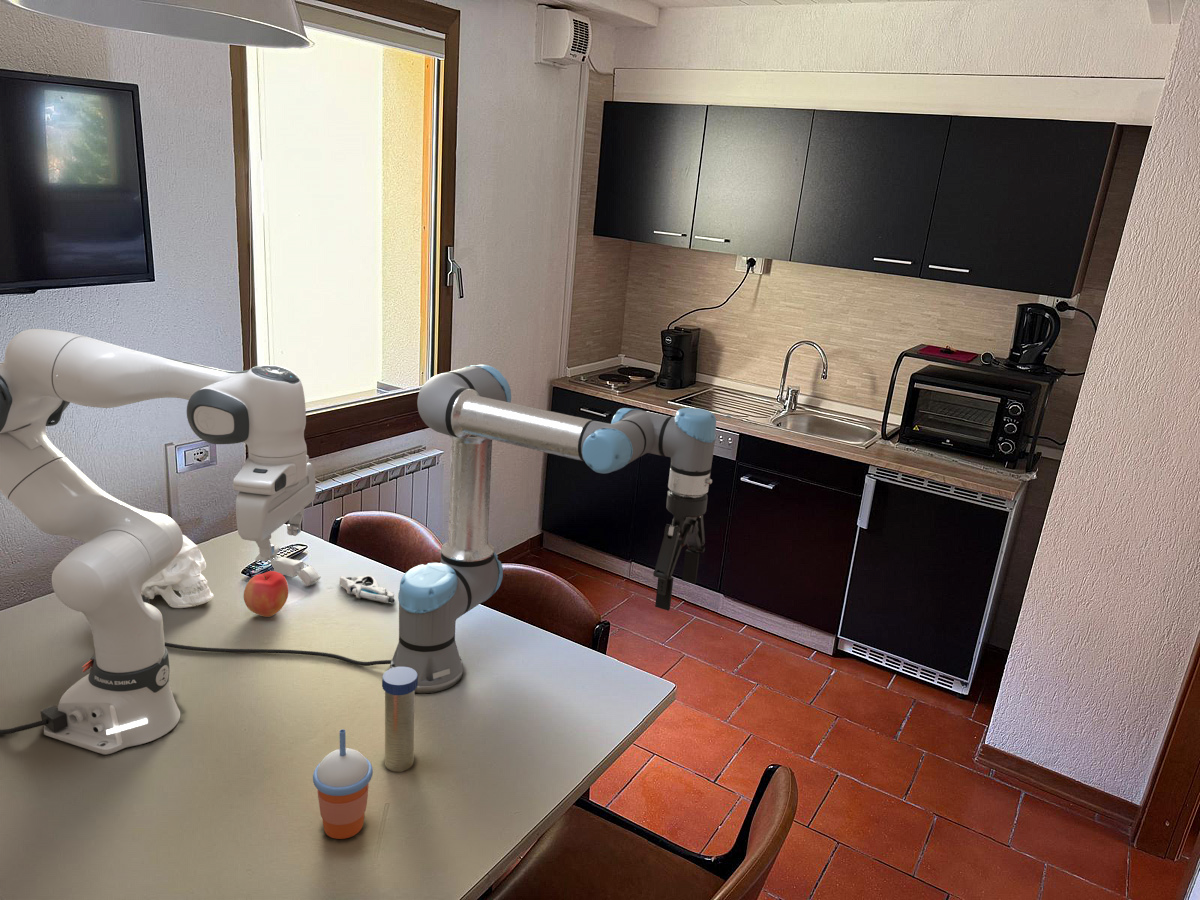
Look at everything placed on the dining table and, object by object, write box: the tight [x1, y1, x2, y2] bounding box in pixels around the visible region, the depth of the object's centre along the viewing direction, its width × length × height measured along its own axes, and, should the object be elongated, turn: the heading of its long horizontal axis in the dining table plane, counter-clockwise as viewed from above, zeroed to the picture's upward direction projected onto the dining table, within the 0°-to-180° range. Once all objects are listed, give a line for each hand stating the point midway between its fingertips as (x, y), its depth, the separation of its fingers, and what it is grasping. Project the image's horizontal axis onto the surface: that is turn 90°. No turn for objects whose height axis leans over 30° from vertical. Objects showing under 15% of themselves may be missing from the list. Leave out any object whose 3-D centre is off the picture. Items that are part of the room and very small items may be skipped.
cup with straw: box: [312, 728, 374, 840], centre depth 136 cm, size 9×9×18 cm
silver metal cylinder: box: [384, 690, 416, 773], centre depth 152 cm, size 5×5×18 cm
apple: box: [243, 570, 289, 618], centre depth 199 cm, size 10×10×10 cm
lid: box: [381, 667, 418, 695], centre depth 149 cm, size 6×6×2 cm
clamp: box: [254, 544, 322, 587], centre depth 219 cm, size 20×4×7 cm, turn 62°
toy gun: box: [338, 574, 395, 604], centre depth 214 cm, size 18×2×10 cm
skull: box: [141, 534, 214, 609], centre depth 203 cm, size 13×22×16 cm, turn 73°
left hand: (281, 544), depth 142 cm, fingers open, 8 cm apart
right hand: (676, 594), depth 165 cm, fingers open, 13 cm apart
